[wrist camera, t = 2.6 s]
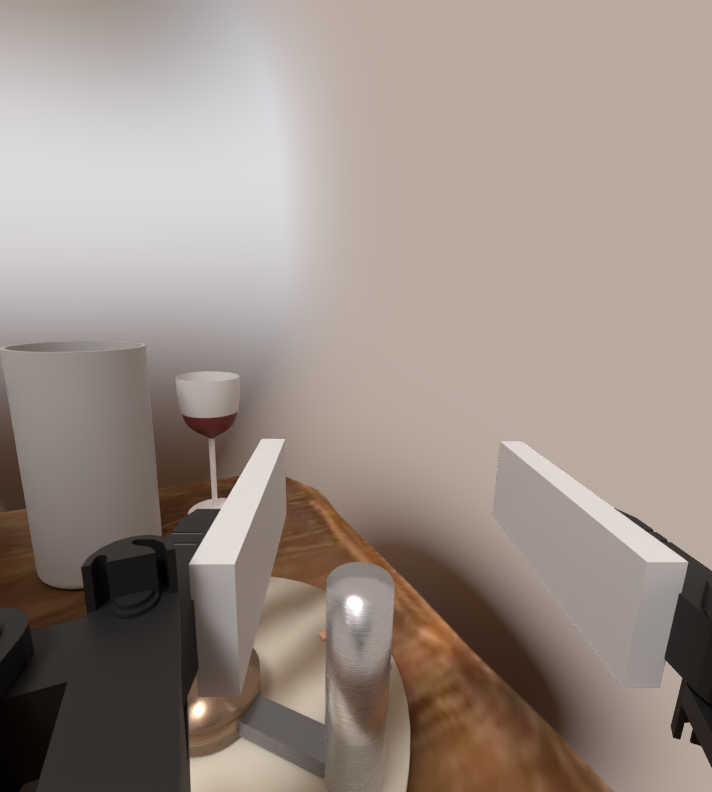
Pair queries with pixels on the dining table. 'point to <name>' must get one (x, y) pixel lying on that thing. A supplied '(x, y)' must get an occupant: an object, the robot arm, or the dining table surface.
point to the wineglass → (209, 414)
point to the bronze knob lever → (344, 693)
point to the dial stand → (296, 700)
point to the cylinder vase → (82, 449)
